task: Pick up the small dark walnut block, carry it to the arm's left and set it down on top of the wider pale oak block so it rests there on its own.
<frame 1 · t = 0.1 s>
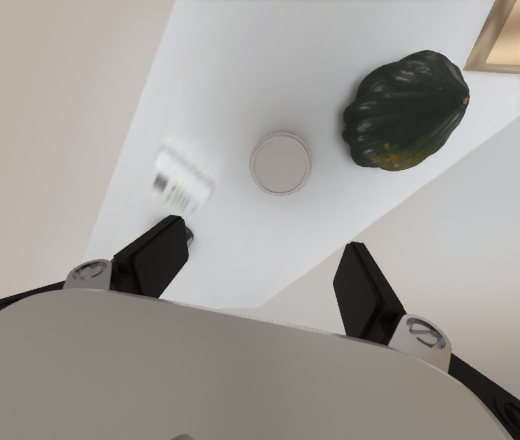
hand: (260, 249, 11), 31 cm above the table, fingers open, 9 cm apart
disposable coffee cup: (282, 156, 38), on the table
oak base block: (514, 33, 26), on the table
squash: (378, 119, 33), on the table
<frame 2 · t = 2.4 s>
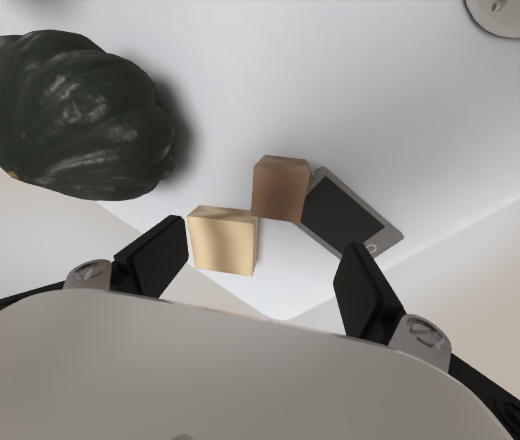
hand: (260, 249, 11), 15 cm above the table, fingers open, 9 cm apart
oak base block: (230, 233, 29), on the table
walnut block: (282, 177, 24), on the table
smartphone: (338, 221, 26), on the table
squash: (141, 128, 24), on the table
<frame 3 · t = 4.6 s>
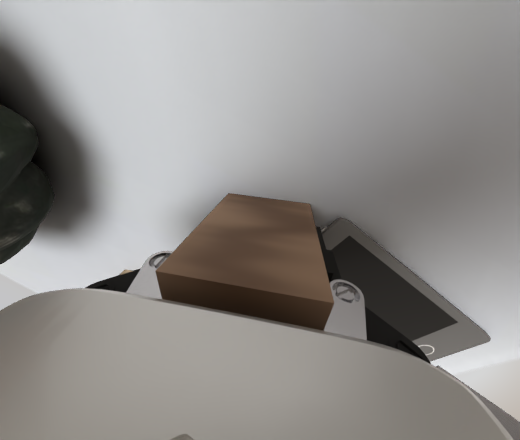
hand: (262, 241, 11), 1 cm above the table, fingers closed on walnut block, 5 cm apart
walnut block: (264, 233, 12), on the table, touching gripper
smartphone: (367, 303, 14), on the table
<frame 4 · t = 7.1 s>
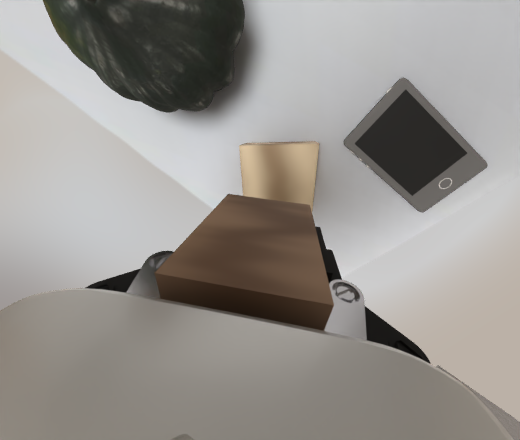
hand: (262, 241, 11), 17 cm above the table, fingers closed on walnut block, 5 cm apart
oak base block: (279, 176, 26), on the table
walnut block: (264, 234, 12), point 16 cm above the table, touching gripper
smartphone: (409, 153, 23), on the table
squash: (190, 41, 21), on the table
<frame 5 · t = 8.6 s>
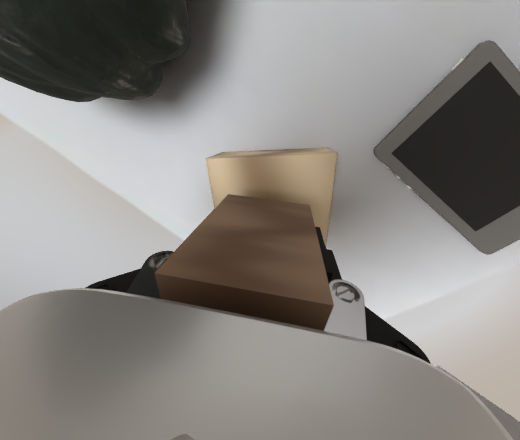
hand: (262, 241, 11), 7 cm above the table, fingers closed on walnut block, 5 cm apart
oak base block: (274, 198, 18), on the table
walnut block: (264, 234, 12), point 6 cm above the table, touching gripper
smartphone: (476, 167, 15), on the table
when the fingers open (6 cm above the table, at t = 9.6 s): walnut block drops 2 cm, point 4 cm above the table.
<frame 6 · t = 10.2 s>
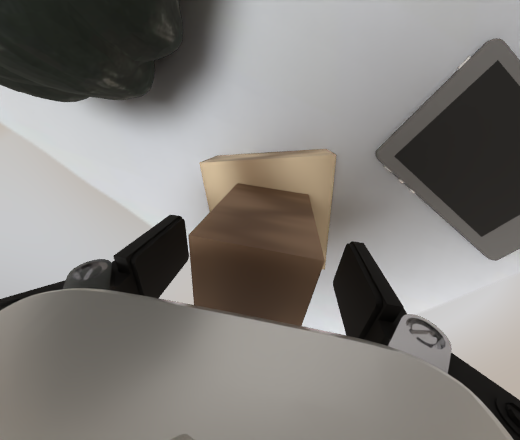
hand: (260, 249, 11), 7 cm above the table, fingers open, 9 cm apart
oak base block: (272, 201, 18), on the table
walnut block: (267, 220, 14), point 4 cm above the table
smartphone: (482, 170, 14), on the table
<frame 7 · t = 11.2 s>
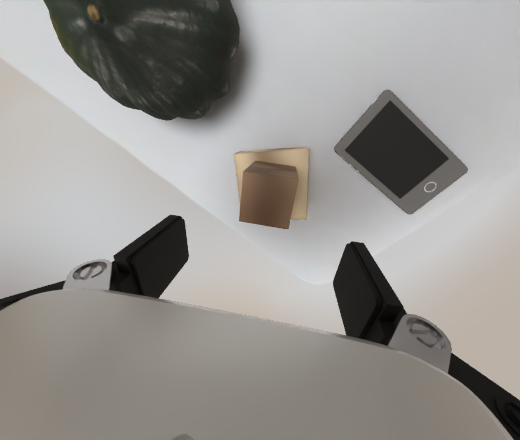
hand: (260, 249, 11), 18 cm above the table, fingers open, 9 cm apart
oak base block: (273, 181, 28), on the table, touching walnut block
walnut block: (272, 183, 24), point 4 cm above the table, touching oak base block
smartphone: (395, 158, 24), on the table
squash: (188, 53, 22), on the table
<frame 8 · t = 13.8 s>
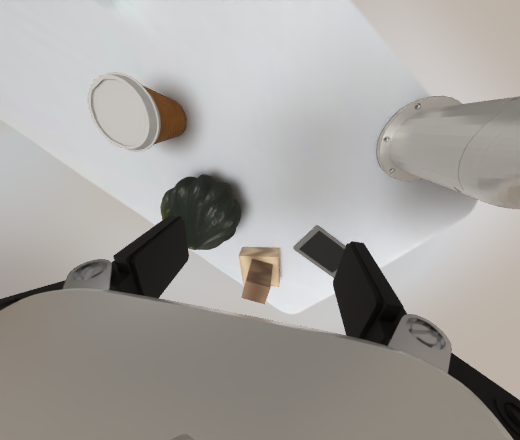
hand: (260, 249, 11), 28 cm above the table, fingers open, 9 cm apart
disposable coffee cup: (171, 118, 35), on the table
oak base block: (261, 261, 48), on the table, touching walnut block
walnut block: (260, 269, 44), point 4 cm above the table, touching oak base block
smartphone: (327, 253, 44), on the table
squash: (214, 201, 42), on the table
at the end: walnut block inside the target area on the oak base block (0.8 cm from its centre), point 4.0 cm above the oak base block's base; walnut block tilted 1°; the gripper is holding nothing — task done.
